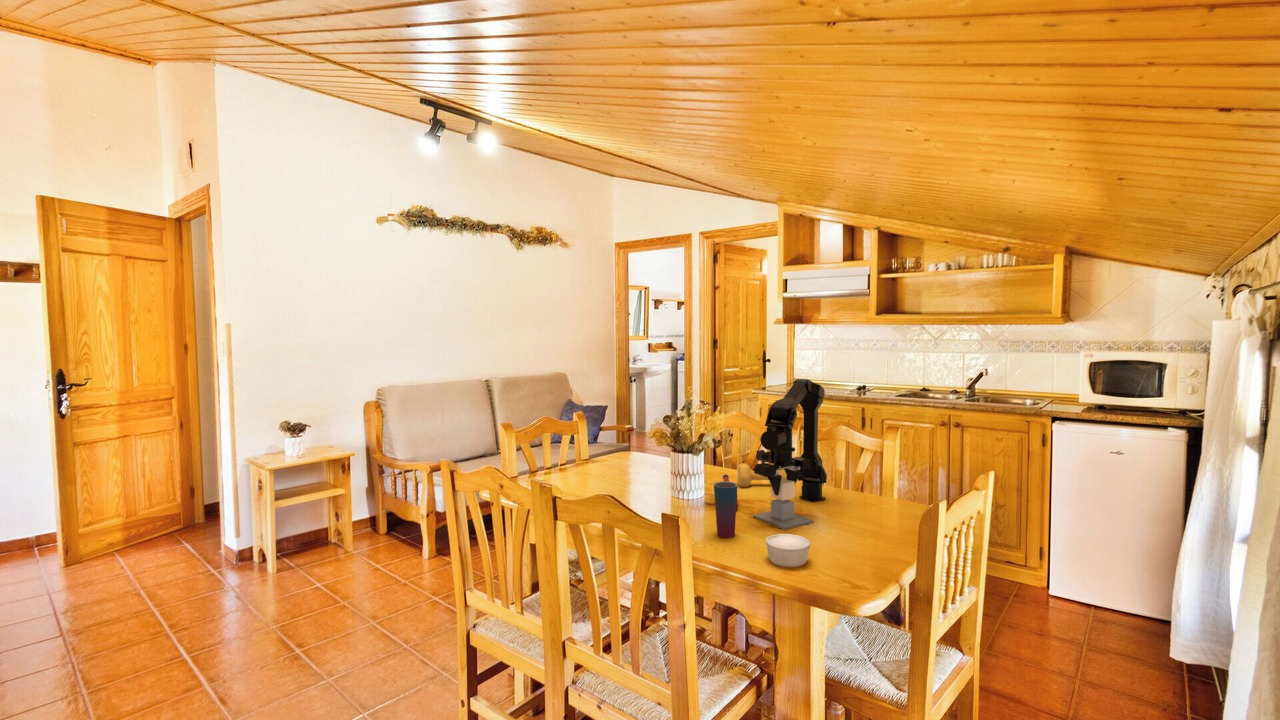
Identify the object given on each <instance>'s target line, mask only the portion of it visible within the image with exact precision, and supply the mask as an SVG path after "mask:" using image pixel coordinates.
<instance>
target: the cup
mask: <svg viewBox="0 0 1280 720" xmlns="http://www.w3.org/2000/svg"><path fill="white" fill-rule="evenodd" d="M738 485H739V484H738V483H736V482H734V481H729V482H728V481H724V480H722V481H717V482H714V483H713V492H714V493H713V494H714V508H715V521H716V535H717V537H719V538H722V539H732V538H735V535H736V521H737V520H736V519H737V510H736V504H737V500H738Z"/></svg>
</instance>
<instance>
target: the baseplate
mask: <svg viewBox="0 0 1280 720" xmlns="http://www.w3.org/2000/svg"><path fill="white" fill-rule="evenodd" d="M753 517H755V518H754V519H756V518H757V519H756V520H758V519H759V520H758V521H761V520H762V521H761V522H763V521H764V522H763V523H765V524H768V523H769V524H768V525H770V526H773V527H775V526H776V528H778V529H780V530H783V531H786V530H791V529H794V528H798V527H802V526H805V525H806V524H807V525H810V523H811V524H813V523H814V521H815V520H814V519H812V518H810V517H806V516H803V515H801V514H799V513H795V512H794V518H792V519H788V520H784V521H782V520H779V519H776V518H774V517H771V510H768V511H764V512H760V513H755V514H754V513H753V514H752V518H753ZM807 525H806V526H807Z"/></svg>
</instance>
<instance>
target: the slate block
mask: <svg viewBox="0 0 1280 720" xmlns="http://www.w3.org/2000/svg"><path fill="white" fill-rule="evenodd" d="M770 511H771V517H774V518H776V519H779V520H782V521H784V520H788V519H792V518H794V513H795V501H793V500H791V499H787V500H783V501H782V500H780V499H777V498H775V499H771V500H770Z"/></svg>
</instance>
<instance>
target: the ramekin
mask: <svg viewBox="0 0 1280 720" xmlns="http://www.w3.org/2000/svg"><path fill="white" fill-rule="evenodd" d="M765 545H766V551H767V556H768V559H769V561H770V562H771V563H772V564H774V565H776V566H780V567H784V568H797V567H801V566H803V565H805V563H806V562H807V561H808V558H809V557H808V556H809V550H810V547H811V542H810V540H808V539H807V538H806V537H803V536H801V535H796V534H792V533H791V534H790V533H778V534H773V535H770V536H767V537H766V539H765Z"/></svg>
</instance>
